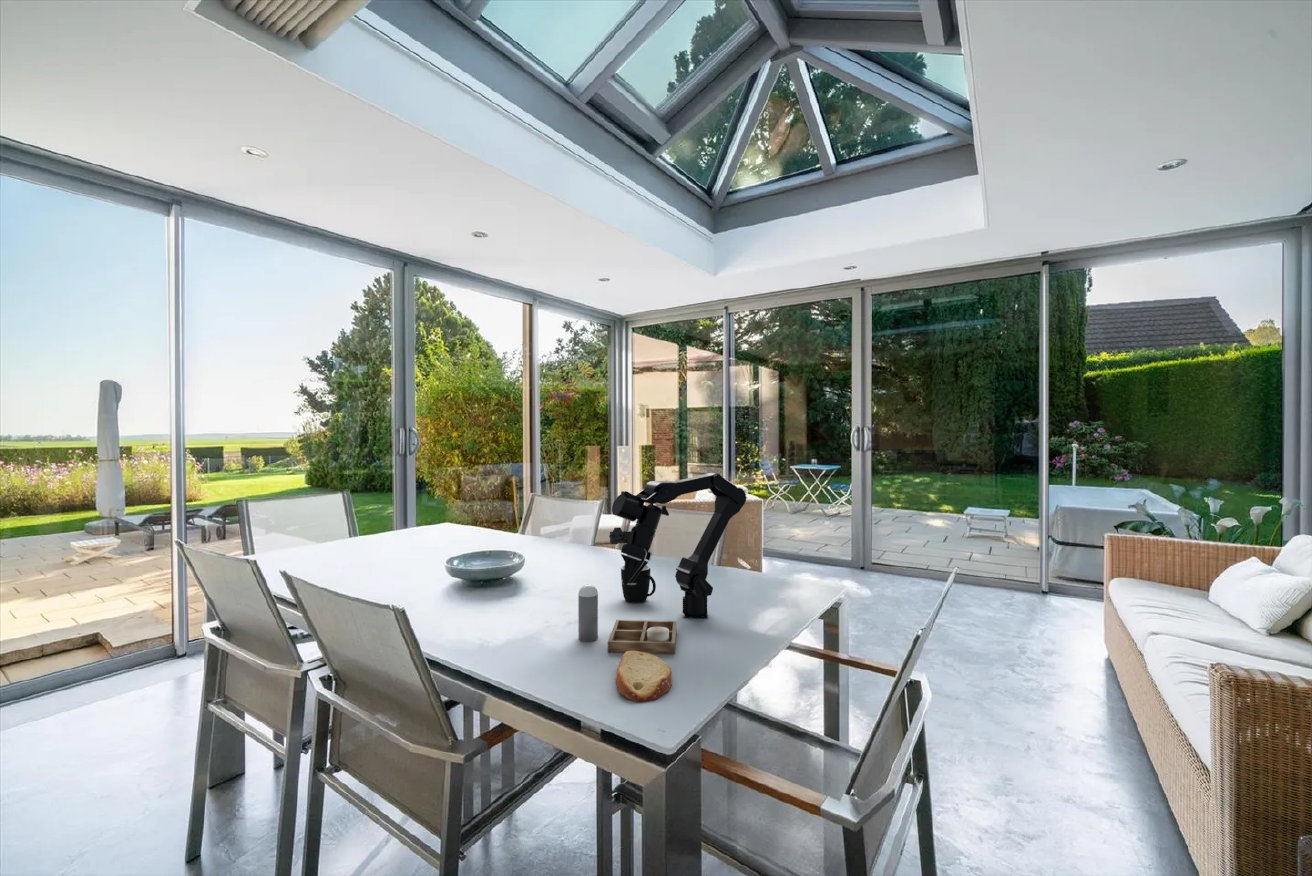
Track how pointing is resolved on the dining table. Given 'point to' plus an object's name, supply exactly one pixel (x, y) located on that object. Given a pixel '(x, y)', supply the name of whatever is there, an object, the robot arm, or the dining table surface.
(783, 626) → the dining table surface
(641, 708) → the dining table surface
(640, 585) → the mug
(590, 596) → the grey rounded cylinder
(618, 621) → the caddy
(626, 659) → the slice of bread
